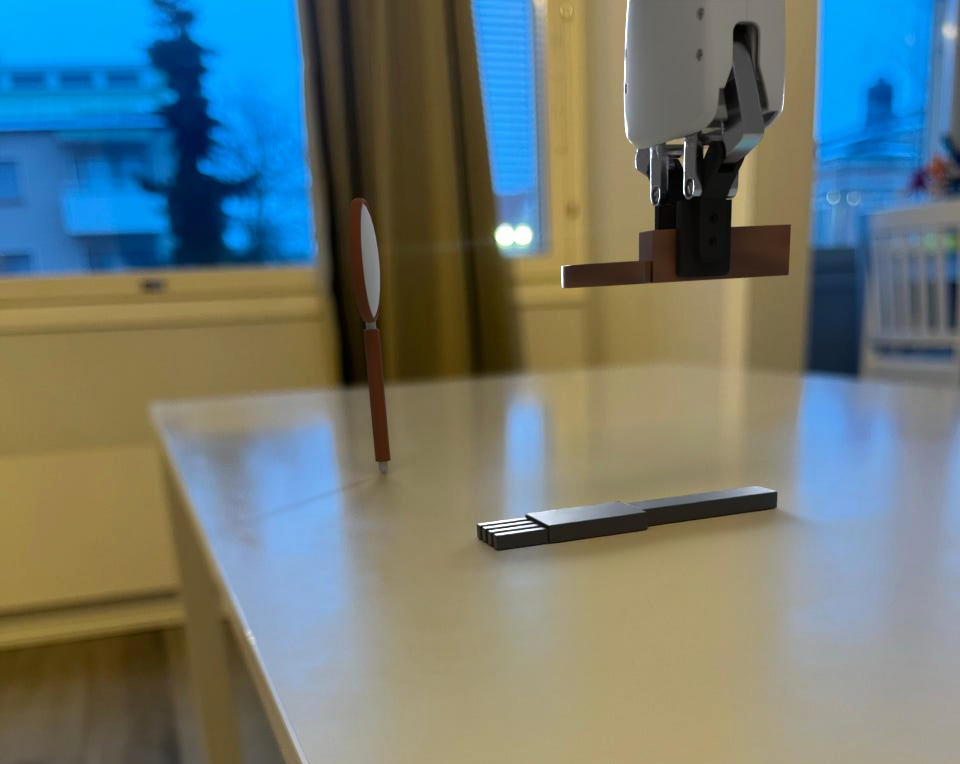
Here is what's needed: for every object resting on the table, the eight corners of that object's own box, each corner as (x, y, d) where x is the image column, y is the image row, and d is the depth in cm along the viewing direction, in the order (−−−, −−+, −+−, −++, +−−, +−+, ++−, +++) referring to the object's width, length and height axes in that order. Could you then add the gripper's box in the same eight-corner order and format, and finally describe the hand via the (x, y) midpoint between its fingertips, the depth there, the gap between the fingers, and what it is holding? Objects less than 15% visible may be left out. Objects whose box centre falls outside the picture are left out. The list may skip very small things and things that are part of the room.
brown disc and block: (756, 277, 62) (758, 228, 61) (805, 274, 57) (808, 221, 56) (548, 289, 58) (547, 237, 57) (583, 287, 53) (582, 231, 52)
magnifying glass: (387, 483, 74) (361, 191, 67) (364, 484, 74) (336, 193, 67) (401, 464, 82) (379, 202, 76) (381, 464, 82) (357, 203, 76)
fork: (749, 499, 61) (750, 483, 61) (784, 509, 58) (785, 493, 58) (476, 537, 56) (475, 519, 56) (498, 550, 53) (497, 532, 53)
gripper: (858, -158, 45) (831, 269, 52) (685, -46, 60) (681, 278, 66) (714, -170, 43) (704, 276, 49) (571, -52, 58) (577, 283, 64)
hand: (691, 274), depth 58 cm, fingers closed on brown disc and block
